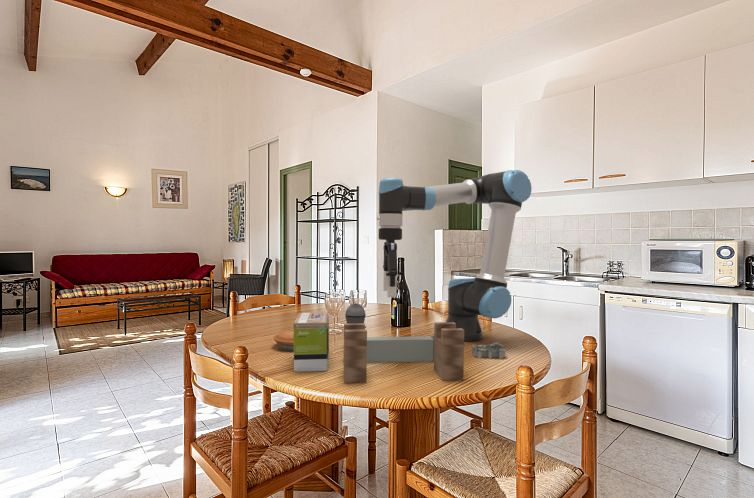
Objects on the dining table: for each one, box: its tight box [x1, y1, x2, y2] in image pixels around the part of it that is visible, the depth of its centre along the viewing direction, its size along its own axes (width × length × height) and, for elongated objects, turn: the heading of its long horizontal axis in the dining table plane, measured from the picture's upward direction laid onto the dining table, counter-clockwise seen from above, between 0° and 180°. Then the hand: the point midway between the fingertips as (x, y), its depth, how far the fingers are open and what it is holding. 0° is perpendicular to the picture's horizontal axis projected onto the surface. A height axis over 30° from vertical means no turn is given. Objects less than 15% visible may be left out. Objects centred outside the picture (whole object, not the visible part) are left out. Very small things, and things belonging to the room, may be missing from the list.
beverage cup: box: [344, 290, 366, 323], centre depth 145 cm, size 7×7×20 cm
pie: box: [272, 329, 294, 352], centre depth 147 cm, size 15×16×5 cm
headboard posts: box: [343, 321, 465, 384], centre depth 118 cm, size 33×10×14 cm, turn 96°
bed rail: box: [367, 335, 434, 364], centre depth 132 cm, size 32×4×7 cm, turn 96°
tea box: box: [292, 311, 330, 373], centre depth 127 cm, size 15×10×15 cm, turn 5°
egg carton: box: [471, 341, 507, 359], centre depth 138 cm, size 11×8×4 cm
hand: (389, 293), depth 132 cm, fingers open, 13 cm apart
